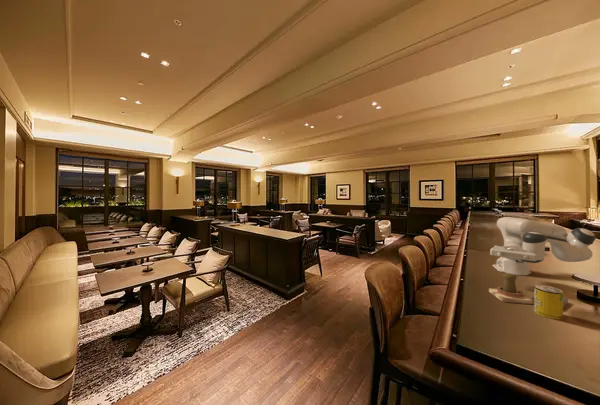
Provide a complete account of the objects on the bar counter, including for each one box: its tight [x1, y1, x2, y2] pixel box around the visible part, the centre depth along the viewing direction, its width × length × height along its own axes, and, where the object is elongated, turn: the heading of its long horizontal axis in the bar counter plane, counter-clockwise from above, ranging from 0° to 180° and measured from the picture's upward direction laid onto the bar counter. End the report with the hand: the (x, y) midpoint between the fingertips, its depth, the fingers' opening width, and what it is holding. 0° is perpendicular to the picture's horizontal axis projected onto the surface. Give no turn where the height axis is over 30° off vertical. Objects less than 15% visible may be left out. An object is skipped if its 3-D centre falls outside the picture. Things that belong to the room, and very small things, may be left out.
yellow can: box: [533, 284, 564, 321], centre depth 105 cm, size 9×9×12 cm
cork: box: [502, 272, 517, 293], centre depth 122 cm, size 6×6×11 cm
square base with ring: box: [488, 286, 534, 305], centre depth 122 cm, size 13×13×4 cm
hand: (511, 256), depth 130 cm, fingers open, 8 cm apart
